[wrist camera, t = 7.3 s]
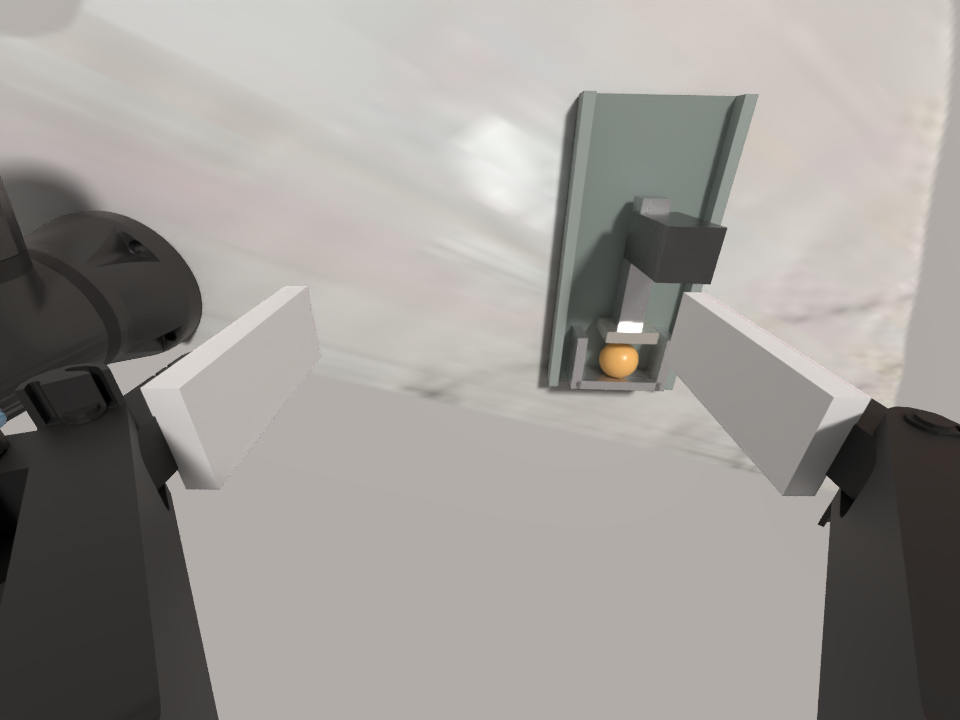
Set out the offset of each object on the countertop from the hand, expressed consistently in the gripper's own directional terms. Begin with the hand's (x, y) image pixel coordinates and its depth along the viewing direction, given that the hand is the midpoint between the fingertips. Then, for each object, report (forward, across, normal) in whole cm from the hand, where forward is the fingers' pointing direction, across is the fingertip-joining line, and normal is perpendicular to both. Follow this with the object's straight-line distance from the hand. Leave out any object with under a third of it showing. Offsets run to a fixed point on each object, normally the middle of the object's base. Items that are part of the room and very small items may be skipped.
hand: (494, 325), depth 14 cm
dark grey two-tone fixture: (+26, +15, -5) cm, 30 cm away
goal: (+27, +15, -14) cm, 34 cm away
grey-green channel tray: (+27, +15, -4) cm, 31 cm away
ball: (+24, +15, -14) cm, 32 cm away
